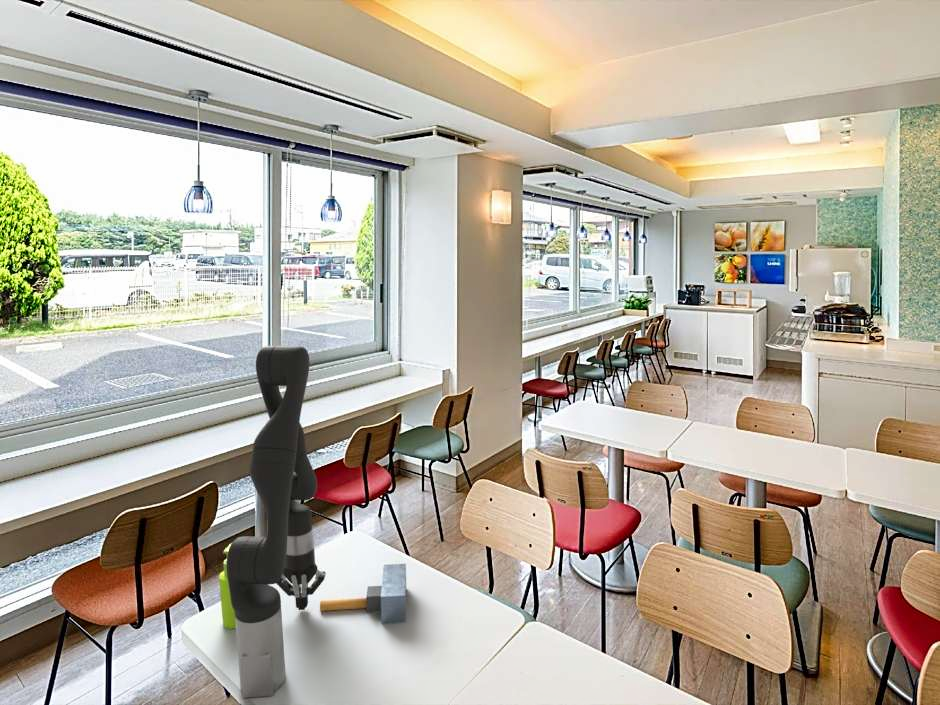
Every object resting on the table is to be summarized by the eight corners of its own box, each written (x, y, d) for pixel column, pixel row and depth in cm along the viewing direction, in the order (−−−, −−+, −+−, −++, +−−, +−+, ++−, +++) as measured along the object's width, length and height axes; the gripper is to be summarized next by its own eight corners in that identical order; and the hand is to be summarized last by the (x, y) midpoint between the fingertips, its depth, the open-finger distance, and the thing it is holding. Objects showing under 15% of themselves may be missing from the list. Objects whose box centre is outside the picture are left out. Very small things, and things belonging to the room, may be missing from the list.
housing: (405, 622, 143) (405, 595, 142) (381, 623, 142) (380, 596, 141) (406, 588, 157) (405, 563, 156) (384, 589, 157) (383, 564, 155)
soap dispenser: (254, 612, 147) (248, 540, 143) (241, 629, 140) (235, 555, 137) (232, 610, 148) (226, 539, 144) (218, 628, 141) (211, 553, 137)
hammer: (386, 611, 147) (386, 595, 147) (319, 615, 146) (318, 599, 145) (387, 600, 152) (386, 585, 151) (322, 604, 150) (321, 589, 149)
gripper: (268, 555, 140) (272, 619, 143) (323, 552, 141) (326, 615, 144) (275, 540, 147) (279, 601, 150) (327, 537, 149) (330, 597, 152)
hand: (302, 608), depth 147 cm, fingers closed
